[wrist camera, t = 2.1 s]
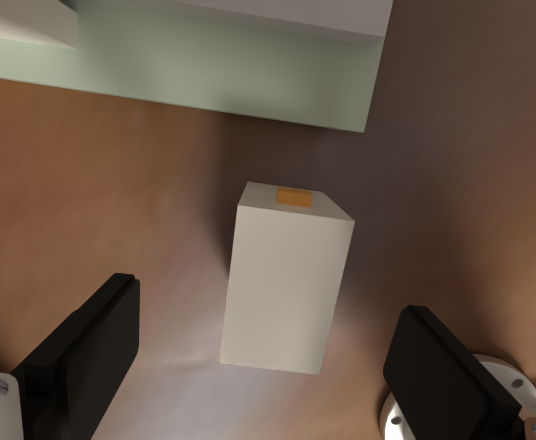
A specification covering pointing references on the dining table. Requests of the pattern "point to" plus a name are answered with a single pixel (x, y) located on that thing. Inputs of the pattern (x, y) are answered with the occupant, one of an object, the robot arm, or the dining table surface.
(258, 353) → the block
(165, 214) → the dining table surface
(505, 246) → the dining table surface
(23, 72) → the din panel
